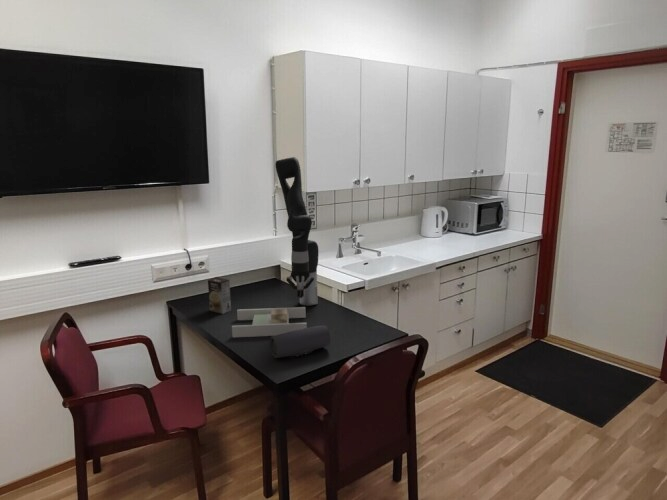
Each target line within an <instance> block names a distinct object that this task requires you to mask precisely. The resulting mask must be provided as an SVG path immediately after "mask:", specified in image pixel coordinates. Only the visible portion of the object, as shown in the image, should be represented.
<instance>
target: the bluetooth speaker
mask: <svg viewBox="0 0 667 500" xmlns="http://www.w3.org/2000/svg"><path fill="white" fill-rule="evenodd" d="M330 344H331V335H330V331H329V328H328V326H326V325H324V324H323V325H316V326H311V327H307V328H304V329H299V330H295V331H290V332H286V333H283V334H279V335H276V336H270V339H269V349H270V352H271V354H272V356H273V357H274V358H275V359H280V358H285V357H289V356H296V357H298V356H297V355H301V354H305V353H308V354H310V353H309V352H311V353H313V352H314V351H315V350H319V349H321V348H324V347H327V346H329V345H330ZM312 351H313V352H312ZM305 355H306V354H305ZM301 356H302V355H301Z"/></svg>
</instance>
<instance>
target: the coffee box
mask: <svg viewBox="0 0 667 500" xmlns="http://www.w3.org/2000/svg"><path fill="white" fill-rule="evenodd" d="M207 287H208V300H209V301H208V302H209V305H208V306H209V311H211V312H214V313H217V314H218V313H219V314H222V315H223V314H225V313H228V312H230V311H232V307H231V306H232V305H231V304H232V303H231V284H230V279H227V278H224V277H218V276H215V277H212V278H210V279H207Z"/></svg>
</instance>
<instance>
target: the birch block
mask: <svg viewBox="0 0 667 500" xmlns="http://www.w3.org/2000/svg"><path fill="white" fill-rule="evenodd" d="M271 322H272V323H283V322H287V309H277V310H272V312H271Z"/></svg>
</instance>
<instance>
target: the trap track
mask: <svg viewBox="0 0 667 500" xmlns="http://www.w3.org/2000/svg"><path fill="white" fill-rule="evenodd" d="M277 309H287V322H283V323H272V322H271V312H272V310H277ZM236 313H237V314H236V316H237V321H252V323H251V324H244V325H243V324H241V325H231V333H232V338H247V337H248V338H251V337H255V338H256V337H269V336H270V337H273V336H276V335H279V334H283V333H286V332H290V331H295V330H299V329H304V328H308V326H307V322H291V323H290V322H289V321H290V319H301V318H302V319H303V318H304V319H306V314H307V313H306V306H299V307H293V306H292V307H275V308H273V307H272V308H271V307H270V308H269V307H268V308H245V309H244V308H243V309H237V310H236Z"/></svg>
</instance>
